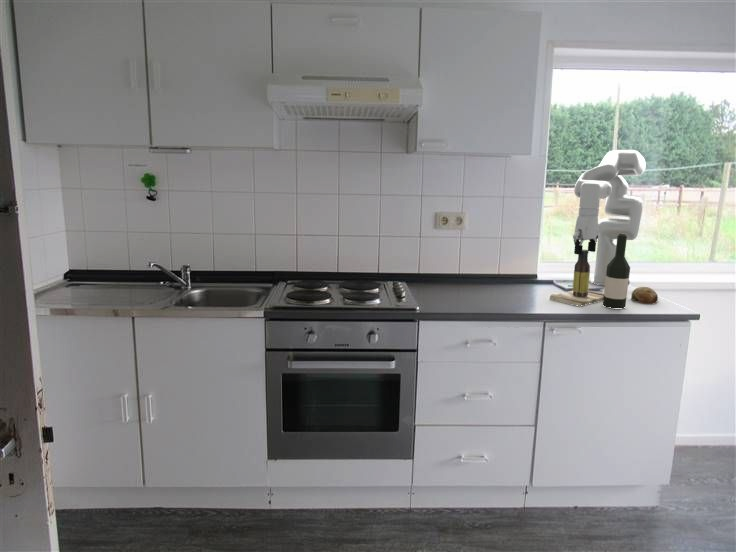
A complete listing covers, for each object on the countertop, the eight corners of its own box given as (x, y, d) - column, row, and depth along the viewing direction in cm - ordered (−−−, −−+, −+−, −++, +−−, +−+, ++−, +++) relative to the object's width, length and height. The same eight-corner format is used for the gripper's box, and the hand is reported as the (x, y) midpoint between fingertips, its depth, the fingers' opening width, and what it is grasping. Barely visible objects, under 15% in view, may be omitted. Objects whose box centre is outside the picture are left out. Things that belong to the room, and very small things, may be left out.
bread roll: (627, 307, 220) (623, 291, 217) (644, 295, 222) (640, 279, 219) (647, 313, 211) (644, 297, 208) (664, 300, 213) (661, 284, 210)
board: (579, 292, 229) (580, 287, 229) (609, 298, 218) (609, 294, 218) (549, 299, 217) (550, 294, 217) (579, 306, 206) (579, 302, 206)
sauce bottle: (589, 295, 218) (594, 249, 214) (585, 298, 213) (590, 251, 209) (573, 293, 222) (578, 248, 217) (569, 295, 217) (574, 250, 212)
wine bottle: (630, 308, 204) (639, 234, 197) (612, 310, 202) (621, 235, 195) (614, 303, 212) (623, 231, 205) (598, 304, 210) (606, 232, 203)
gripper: (592, 209, 217) (588, 249, 222) (567, 213, 208) (564, 254, 212) (608, 211, 211) (604, 251, 216) (584, 215, 202) (580, 257, 206)
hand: (584, 252), depth 214 cm, fingers open, 9 cm apart
